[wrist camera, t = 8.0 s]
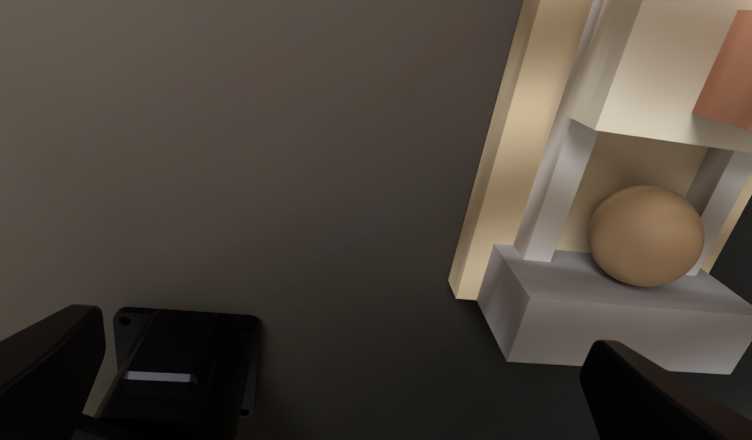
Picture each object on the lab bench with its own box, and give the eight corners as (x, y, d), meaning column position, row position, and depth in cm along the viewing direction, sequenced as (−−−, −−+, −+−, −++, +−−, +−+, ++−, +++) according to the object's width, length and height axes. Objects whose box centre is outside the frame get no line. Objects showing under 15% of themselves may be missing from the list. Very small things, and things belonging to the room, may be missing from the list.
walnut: (637, 257, 21) (700, 311, 18) (557, 249, 21) (605, 303, 17) (674, 176, 20) (752, 217, 16) (589, 165, 19) (650, 205, 15)
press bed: (665, 298, 25) (750, 375, 20) (448, 280, 23) (482, 360, 18) (947, -251, 15) (1242, -364, 10) (620, -360, 13) (791, -562, 8)
